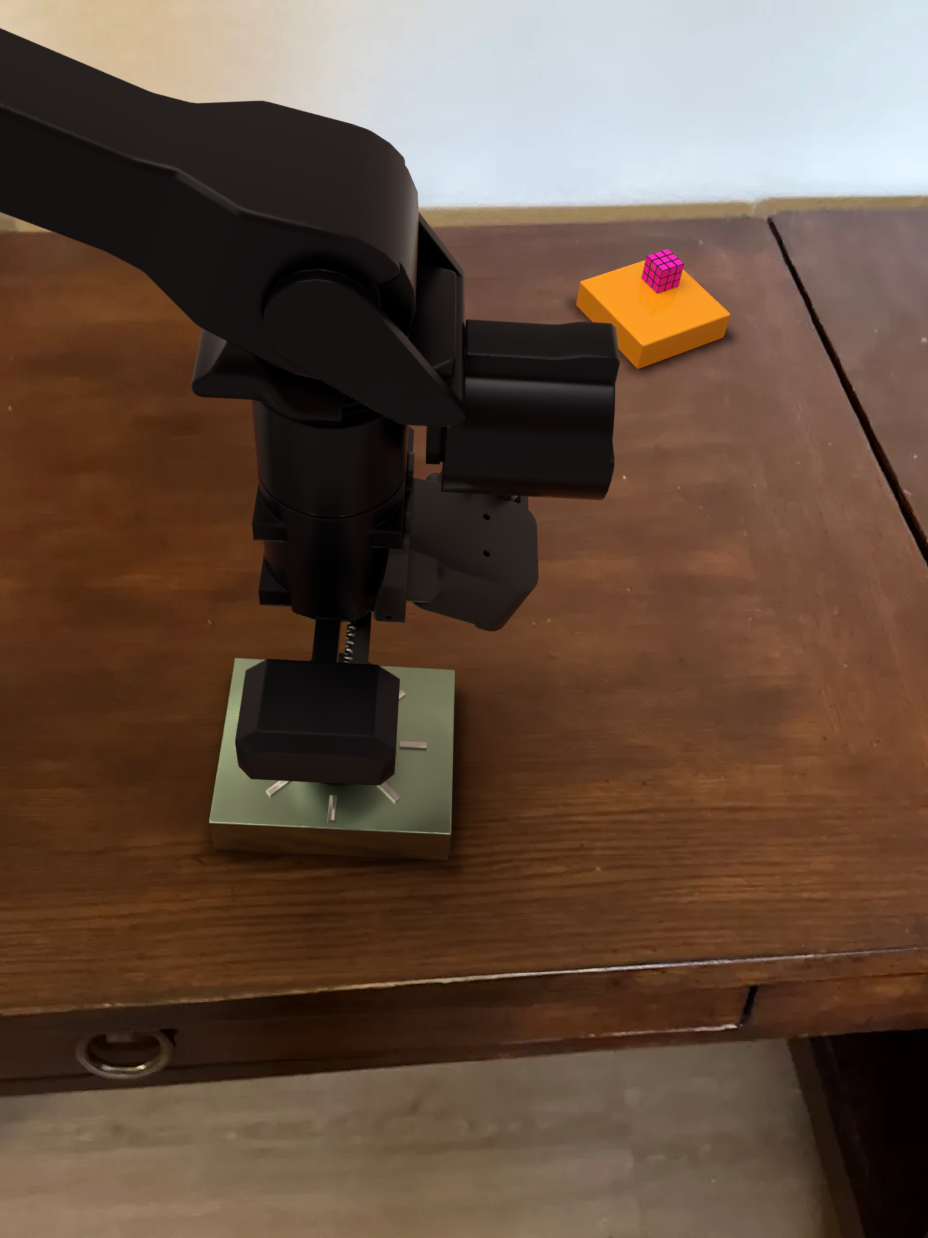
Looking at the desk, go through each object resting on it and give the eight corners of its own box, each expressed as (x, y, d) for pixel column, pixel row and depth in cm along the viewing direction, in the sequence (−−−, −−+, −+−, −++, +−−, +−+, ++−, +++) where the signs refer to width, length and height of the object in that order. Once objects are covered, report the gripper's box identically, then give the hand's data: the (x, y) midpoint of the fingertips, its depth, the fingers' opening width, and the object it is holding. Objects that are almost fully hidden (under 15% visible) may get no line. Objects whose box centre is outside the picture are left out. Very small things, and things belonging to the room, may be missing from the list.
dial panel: (213, 850, 62) (207, 821, 60) (238, 688, 68) (234, 655, 66) (447, 861, 63) (451, 833, 60) (451, 699, 69) (455, 667, 66)
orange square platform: (724, 338, 90) (738, 291, 86) (637, 370, 87) (648, 322, 83) (660, 276, 94) (671, 229, 90) (575, 305, 91) (583, 257, 87)
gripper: (546, 675, 41) (501, 873, 54) (535, 320, 53) (499, 552, 65) (218, 656, 41) (248, 861, 53) (277, 302, 52) (291, 540, 65)
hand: (335, 688), depth 59 cm, fingers open, 9 cm apart
